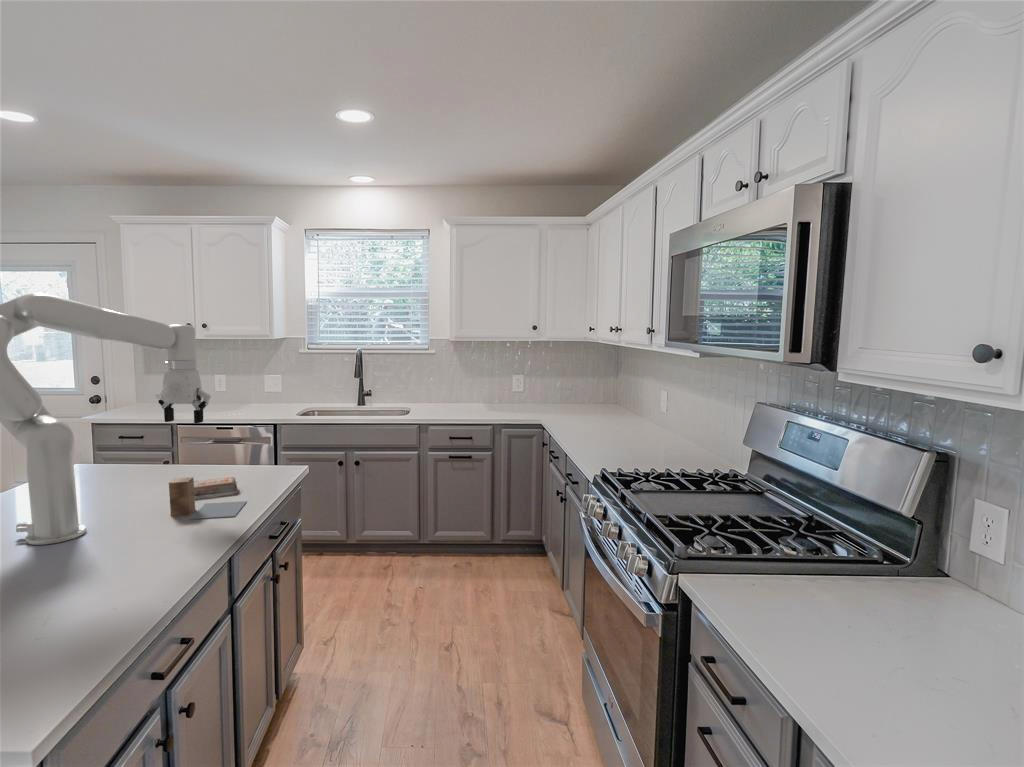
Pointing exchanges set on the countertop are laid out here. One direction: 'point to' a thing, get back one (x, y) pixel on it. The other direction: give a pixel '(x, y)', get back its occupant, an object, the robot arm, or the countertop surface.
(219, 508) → the rubber mat
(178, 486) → the walnut block
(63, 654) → the countertop surface
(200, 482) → the packaged product
